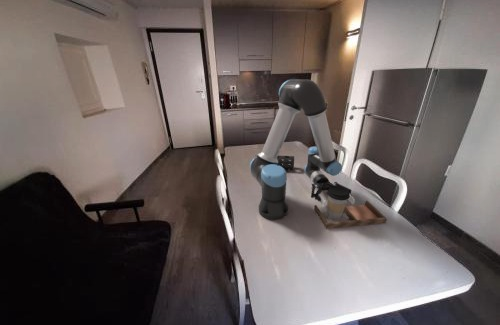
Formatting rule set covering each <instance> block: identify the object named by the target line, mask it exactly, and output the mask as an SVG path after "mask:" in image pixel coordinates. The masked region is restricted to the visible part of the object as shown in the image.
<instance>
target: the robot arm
mask: <svg viewBox="0 0 500 325" xmlns="http://www.w3.org/2000/svg"><path fill="white" fill-rule="evenodd" d="M278 97H279V100H278V102H277V104H278V105H277V106H278V111H277V113H276V116H275V118H274V120H273V123H272V126H271V128H270V130H269V133H268V136H267V138H266V141H265V142H264V146H263V148H262V151H261V152H259V153H257V154H256V155H257V157H256V158H255V157H254V158H252V160H251V161H250V163H249V171H250V173H251V175H252V177H253V178H254V179H255V180H256V181H257V182H258V184H259V185H260V187H261V198H260V201H259V204H258V212H259V215H260V216H261V217H263V218H264V219H267V220H271V221H279V220H283V219H284V218H285V217H287V216H288V214H289V211H290V210H289V208H290V207H289V204H288V202H287V198H286V193H287V192H286V191H287V180H288V178H287V171H286V169H284V168H283V167H281V166H277V164H278V160H277V156H279V153H280V151H281V149H282V147H283V144H284V142H285V140H286V138H287V136H288V132H290V128H291V125H292V123H293V121H294V119H295V118H296V117H295V116H296V115H297V114H299V113H300V112H301V110H303V113H304V116H305V117H307V118H308V123H309V126H310V129H311V132H312V136H313V140H314V143H315V146H310V147H309V148H308V153H307V163H306V165H305V166H304V170H303V171H304V173H305V176H307V177H308V178H309V180H310V181H311V182H312V183H311V186H310V187H311V196H310V197H311V198H312V199H313V198H314V200H315V201H317V202H319V203H320V204H321V205H322V207H324V208H326V207H327V206H326V205H327V201H326V200H325V198H324V197H323V196H322V195H321V194H322V192H327V191H328V189H330V187H332V186H340V187H343V188H345V189H347V190H348V192H349V194H350V197H349V199H347V201H349V203H351V205H354V204H355V201H356V199H355V197H353V195H352V189H351V188H349V187H346V186H345V185H342V184H340V183H338V182H337V181H334V183H332V182H330V180H329V178H328V177H327V176H326V175H325V173H323V172H326V174H329V175H331V176H337V175H339V174H340V173H341V172H342V170H343V166H342V163H341V162H339V161H338V160H337V158H336V153H335V149H334V144H333V140H332V136H331V130H330V127H329V122H328V119H327V115H326V111H327V109H328V106H327V101H326V98H325V96H324V94H323V92H322V90H321V88H320V86H319V85H318V84H317V83H316V82H315V81H314V80H311V79H300V78H299V79H297V78H291V79H287V80H286V81H284V82H283V83H282V84H281V86H280V87H279V89H278ZM322 171H323V172H322ZM316 189H317V190H316ZM315 190H316V192H315Z"/></svg>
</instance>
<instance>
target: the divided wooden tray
mask: <svg viewBox="0 0 500 325" xmlns="http://www.w3.org/2000/svg"><path fill="white" fill-rule="evenodd" d="M313 210H314V212H315V214H316V215H317V217H318V218H319V220H320V221H321V223H322V225H323V226H324V228H325V229H326V230H327V229H339V228H349V227H360V226H368V225H369V226H370V225H381V224H386V223H387V219H388V218H387V217H386V216H385V215H383V214H382V212H381V211H379V210H378V209H377V208H376V207H375V206H374V205H373V204H372V203H371V202H370V201H368V200H365V201H364V204H359V205H349V206H348V205H346V206H345V209H344V211H343V214H344V215H345V216H346V217H347V218H348V219H349V220H343V221H342V220H341V221H331V222H328V221H327V219H326V218H325V215H323V213H322V211H321V210H320V209H319V207H318V206H317V205H316V204H315V205H314V207H313Z"/></svg>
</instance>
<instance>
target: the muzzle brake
mask: <svg viewBox="0 0 500 325" xmlns="http://www.w3.org/2000/svg"><path fill="white" fill-rule="evenodd" d="M257 155H258V154H256V155H254V158H256V157H257ZM277 160H278V164H277V166H281V167H283V168H284V169H285V170H293V169H295V155H278V156H277Z"/></svg>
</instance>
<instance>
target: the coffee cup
mask: <svg viewBox="0 0 500 325" xmlns="http://www.w3.org/2000/svg"><path fill="white" fill-rule="evenodd" d="M326 194H327V201H326V205H327V206H326V209H327V218H328V219H329V220H330V221H332V222H340V220H341V219H342V217H343V214H344V212H343V211H344V209H345V207H347V203H348V199H349V197H350V194H349V192H348V190H347V189H345V188H343V187H340V186H332V187H330V189H328V191H326Z"/></svg>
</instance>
